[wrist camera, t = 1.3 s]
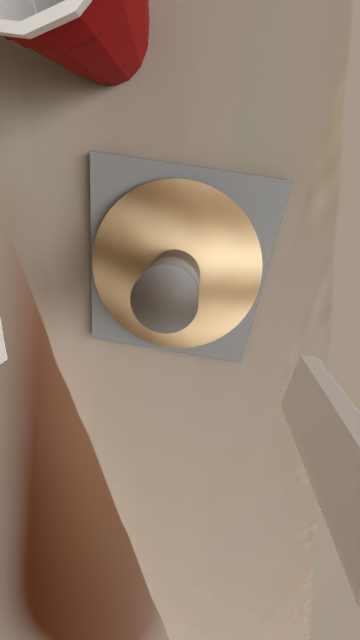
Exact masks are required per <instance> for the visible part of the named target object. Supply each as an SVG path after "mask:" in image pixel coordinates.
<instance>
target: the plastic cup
mask: <svg viewBox="0 0 360 640" xmlns="http://www.w3.org/2000/svg"><path fill="white" fill-rule="evenodd" d="M0 36H3V37H5V38H6V39H8V40H14V41H15V42H17V43H19V44H20V45H22V46H23V47H25V48H31V49H33V50H35V51H36V52H38V53H40V54H42V55H44V56H45V57H47V58H49V59H51V60H53V61H54V62H56V63H58V64H60V65H62V66H63V67H65V68H67V69H69V70H71V71H72V72H74V73H76V74H78V75H79V76H85V77H87V78H89V79H90V80H92V81H94V82H96V83H99V84H107V85H118V84H120V83H123V82H125V81H127V80H129V79H130V78H131V77H132V76H133V75H134V74H135V73H136V72H137V70H138V69H139V68H140V67H141V64H142V61H143V59H144V56H145V53H146V51H147V46H148V36H149V9H148V0H0Z"/></svg>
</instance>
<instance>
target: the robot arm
mask: <svg viewBox="0 0 360 640" xmlns="http://www.w3.org/2000/svg"><path fill="white" fill-rule="evenodd" d="M6 360H7V354H6V348H5V342H4V337H3V331H2V325H1V319H0V364H2V363H3V362H4V361H6ZM281 406H282V409H283V411H284V414H285V417H286V419H287V422H288V424H289V427H290V430H291V432H292V435H293V437H294V440H295V443H296V445H297V448H298V450H299V453H300V456H301V458H302V461H303V463H304V466H305V469H306V471H307V474H308V476H309V479H310V482H311V484H312V487H313V489H314V492H315V495H316V497H317V500H318V502H319V505H320V508H321V510H322V513H323V516H324V518H325V521H326V523H327V526H328V528H329V531H330V534H331V536H332V539H333V542H334V544H335V547H336V549H337V552H338V555H339V557H340V560H341V562H342V565H343V567H344V570H345V573H346V575H347V578H348V581H349V583H350V586H351V588H352V591H353V594H354V596H355V599H356V601H357V604H358V606H360V413H359V411H358V410H357V409H356V407H355V406H354V405H353V403H352V402H351V401H350V399H349V398H348V397H347V396H346V394H345V393H344V391H343V390H342V389H341V387H340V386H339V385H338V383H337V382H336V381H335V379H334V378H333V377H332V375H331V374H330V373H329V371H328V370H327V369H326V367H325V366H324V364H323V363H322V362H321V360H320V359H319V358H317V357H310V356H304V355H300V357H299V360H298V362H297V365H296V367H295V370H294V373H293V375H292V378H291V380H290V383H289V385H288V388H287V391H286V393H285V396H284V398H283V401H282V403H281Z"/></svg>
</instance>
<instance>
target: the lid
mask: <svg viewBox="0 0 360 640" xmlns="http://www.w3.org/2000/svg"><path fill="white" fill-rule="evenodd" d="M92 267H93V276H94V281H95V285H96V288H97V291H98V293H99V296H100V298H101V300H102V302H103V304H104V305H105V307H106V308H107V310H108V311H109V313H110V314H111V315H112V316H113V318H114V319H115V320H116V321H117V322H118V323H119V324H120V325H121V326H122V327H123V328H125V329H126V330H127V331H129V332H130V333H131V334H133V335H135V336H136V337H138V338H140V339H142V340H144V341H146V342H149V343H152V344H155V345H159V346H163V347H170V348H189V347H196V346H200V345H204V344H207V343H210V342H212V341H215V340H217V339H218V338H220V337H222V336H224V335H225V334H227V333H228V332H230V331H231V330H232V329H233V328H235V327H236V326H237V325H238V324H239V323H240V322H241V321H242V319H243V318H244V317H245V316H246V314H247V313H248V312H249V310H250V309H251V307H252V305H253V303H254V301H255V299H256V296H257V294H258V291H259V288H260V283H261V278H262V267H263V265H262V253H261V248H260V243H259V240H258V237H257V234H256V232H255V230H254V228H253V226H252V224H251V222H250V220H249V219H248V217H247V216H246V215H245V213H244V212H243V210H242V209H241V208H240V207H239V206H238V205H237V204H236V203H235V202H234V201H233V200H232V199H230V198H229V197H228V196H226V195H225V194H224V193H222V192H221V191H219V190H217V189H215V188H213V187H211V186H209V185H206V184H204V183H201V182H197V181H193V180H188V179H176V178H173V179H162V180H157V181H153V182H149V183H147V184H144V185H142V186H139V187H137V188H135V189H134V190H132V191H130V192H128V193H127V194H126V195H125V196H123V197H122V198H121V199H120V200H118V201H117V202H116V203H115V205H114V206H113V207H112V208H111V209H110V210H109V212H108V213H107V215H106V216H105V217H104V219H103V221H102V223H101V225H100V227H99V229H98V232H97V235H96V238H95V241H94V247H93V254H92Z"/></svg>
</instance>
